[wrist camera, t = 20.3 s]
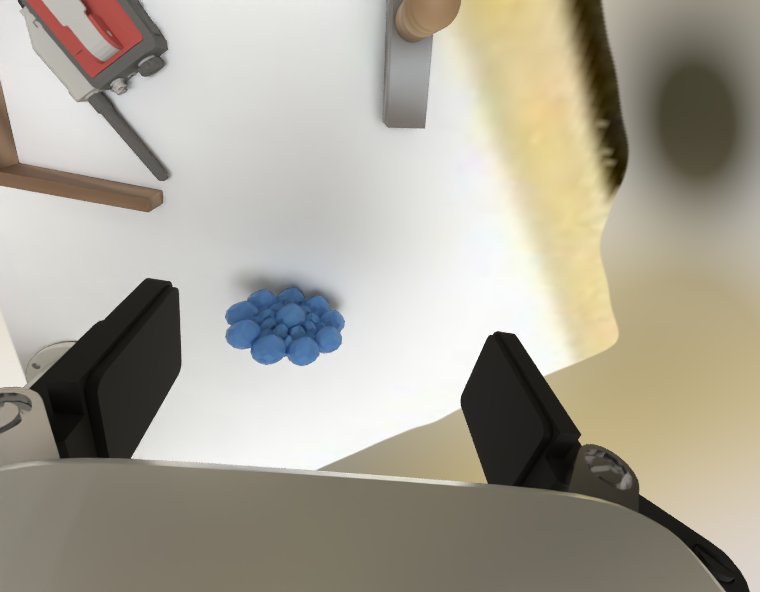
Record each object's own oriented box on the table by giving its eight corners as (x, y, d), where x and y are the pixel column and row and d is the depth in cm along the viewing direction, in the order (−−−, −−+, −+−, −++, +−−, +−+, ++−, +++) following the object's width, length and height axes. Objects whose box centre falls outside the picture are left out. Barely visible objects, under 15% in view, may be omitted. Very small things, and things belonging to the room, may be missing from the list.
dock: (162, 202, 36) (148, 212, 34) (3, 173, 34) (-26, 180, 31) (141, -200, 24) (115, -234, 21) (-115, -292, 21) (-178, -343, 19)
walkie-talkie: (-52, -67, 26) (162, 182, 36) (-120, -92, 23) (140, 195, 32) (35, -152, 25) (236, 133, 34) (-22, -193, 21) (222, 140, 30)
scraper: (415, 122, 35) (448, 142, 23) (382, 121, 34) (400, 141, 23) (430, -87, 28) (487, -200, 16) (389, -90, 27) (420, -207, 16)
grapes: (236, 312, 43) (201, 386, 33) (246, 261, 40) (211, 325, 30) (334, 335, 46) (331, 410, 35) (350, 288, 43) (352, 356, 32)
